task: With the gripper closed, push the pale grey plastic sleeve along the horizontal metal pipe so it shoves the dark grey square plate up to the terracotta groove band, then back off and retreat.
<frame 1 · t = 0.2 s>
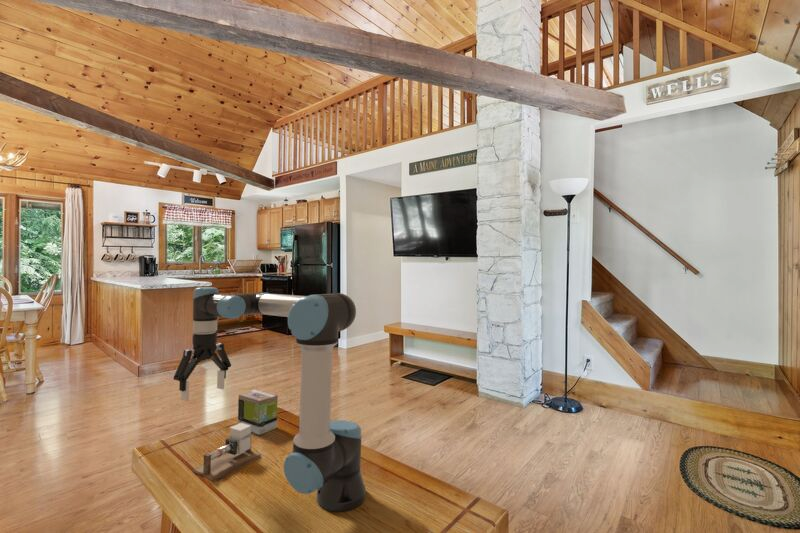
hand: (203, 394, 131), 28 cm above the table, fingers open, 13 cm apart
sleeve: (240, 438, 143), point 7 cm above the table, slide at -5.0 cm
pipe: (228, 447, 138), point 5 cm above the table
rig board: (228, 464, 138), on the table
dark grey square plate: (231, 446, 139), point 6 cm above the table, slide at -1.0 cm
tea box: (257, 428, 170), on the table
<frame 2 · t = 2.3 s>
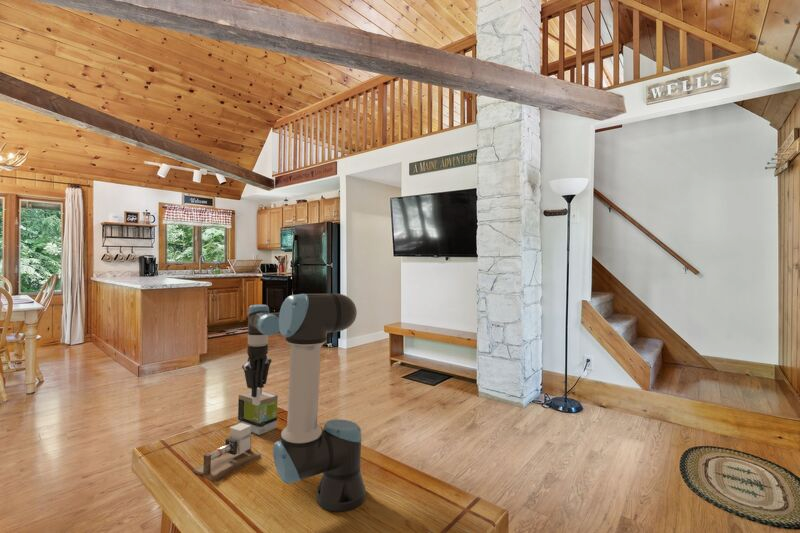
hand: (256, 404, 150), 18 cm above the table, fingers closed
nothing on the table moved.
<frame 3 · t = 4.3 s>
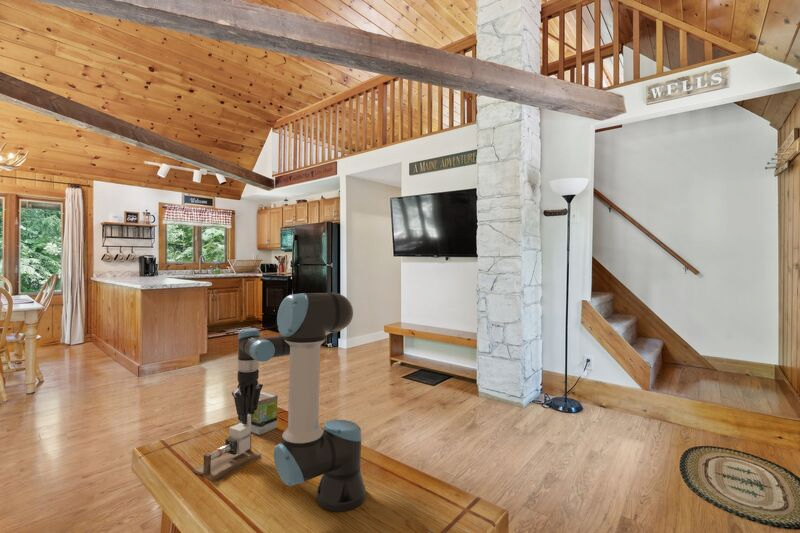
hand: (246, 431, 145), 9 cm above the table, fingers closed
sleeve: (239, 438, 143), point 8 cm above the table, slide at -4.8 cm, touching gripper
everything else where it was.
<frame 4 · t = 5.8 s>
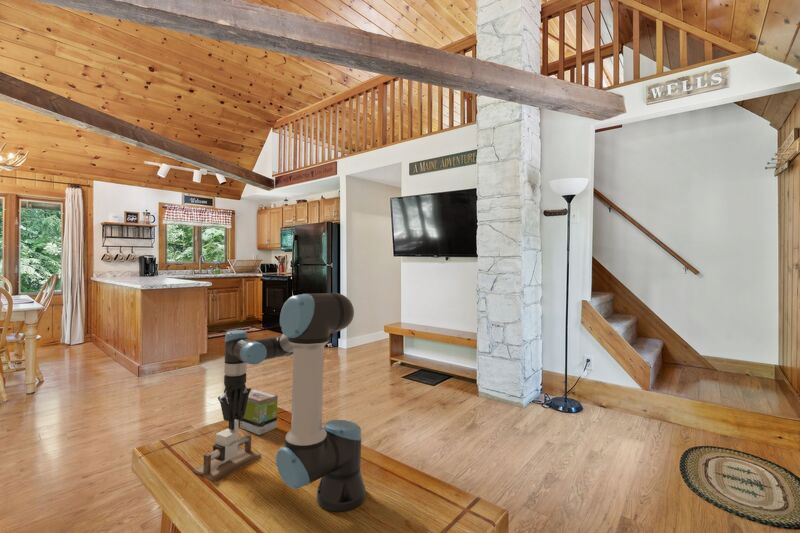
hand: (234, 437, 140), 9 cm above the table, fingers closed
sleeve: (226, 444, 137), point 7 cm above the table, slide at 1.0 cm, touching gripper, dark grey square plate
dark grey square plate: (218, 452, 134), point 6 cm above the table, slide at 4.1 cm, touching sleeve
everything else where it was.
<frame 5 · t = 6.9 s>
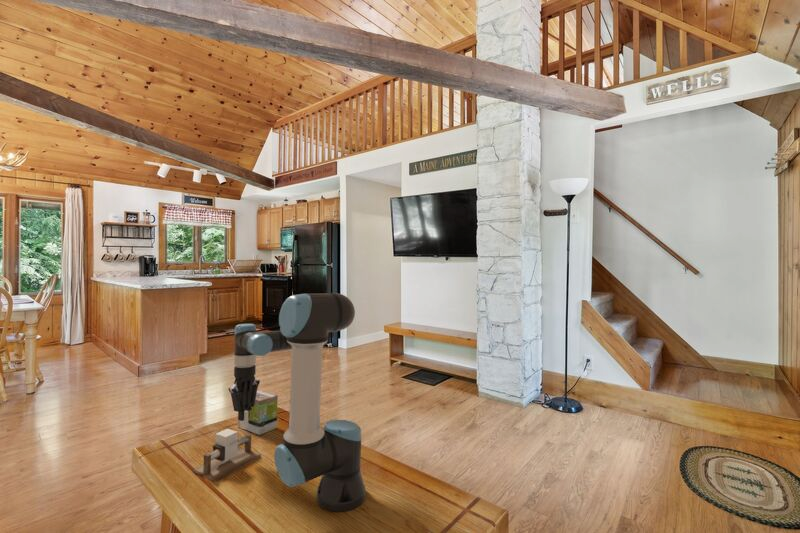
hand: (244, 428, 144), 11 cm above the table, fingers closed
sleeve: (226, 444, 137), point 7 cm above the table, slide at 1.1 cm, touching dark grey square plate
everything else where it was.
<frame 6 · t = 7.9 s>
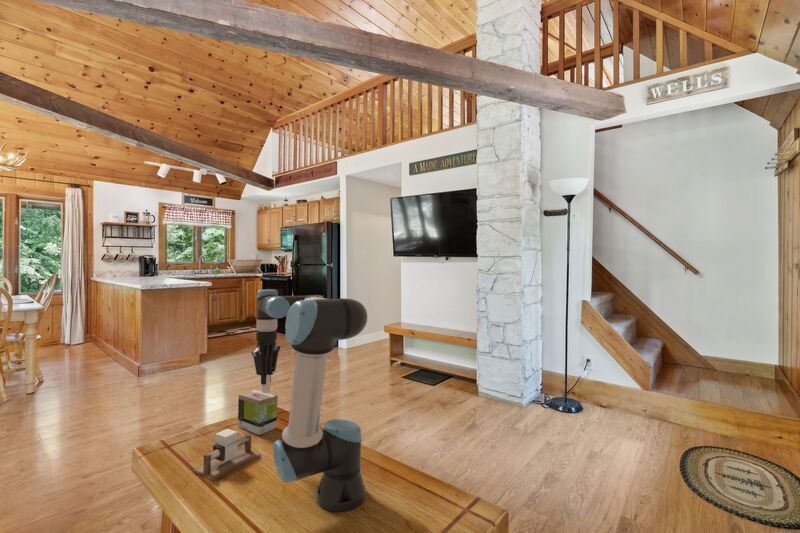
hand: (265, 392, 145), 24 cm above the table, fingers closed
nothing on the table moved.
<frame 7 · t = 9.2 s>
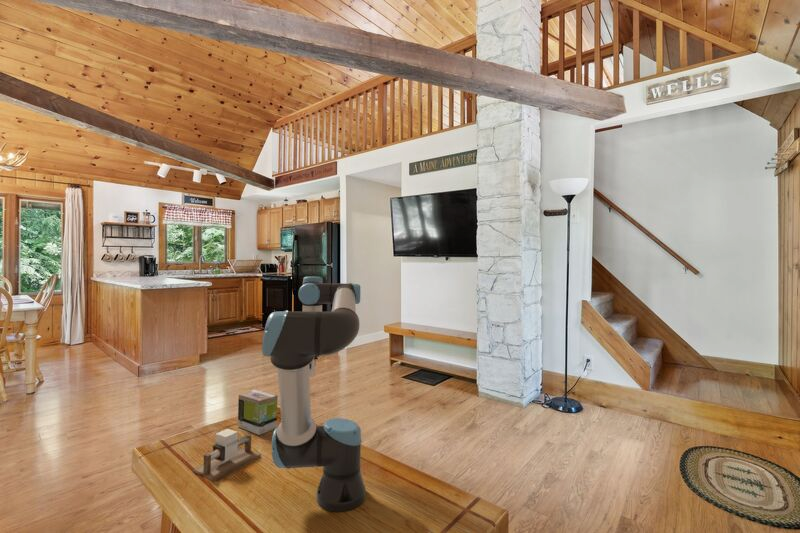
hand: (310, 376, 149), 29 cm above the table, fingers closed
nothing on the table moved.
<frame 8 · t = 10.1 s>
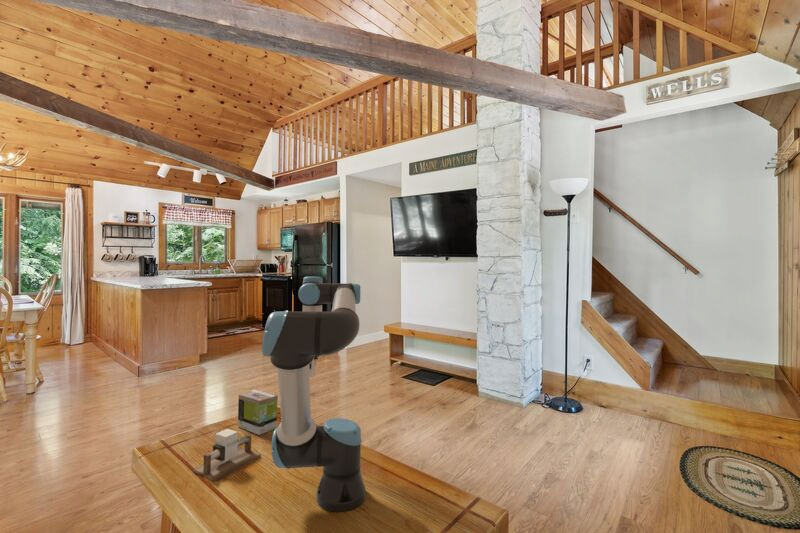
hand: (310, 376, 149), 29 cm above the table, fingers closed
nothing on the table moved.
at the end: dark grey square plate slide at 4.2 cm; sleeve slide at 1.1 cm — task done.
